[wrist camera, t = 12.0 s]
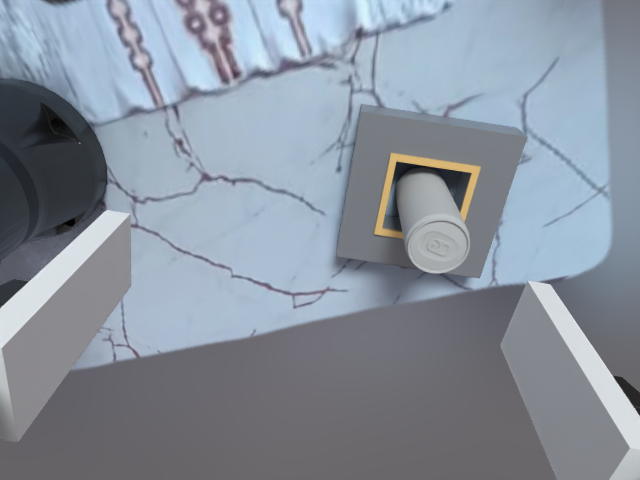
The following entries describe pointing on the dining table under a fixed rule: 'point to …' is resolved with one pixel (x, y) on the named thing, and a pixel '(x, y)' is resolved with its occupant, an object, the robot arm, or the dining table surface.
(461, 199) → the socket plate
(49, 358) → the robot arm
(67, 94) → the dining table surface
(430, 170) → the beverage can
